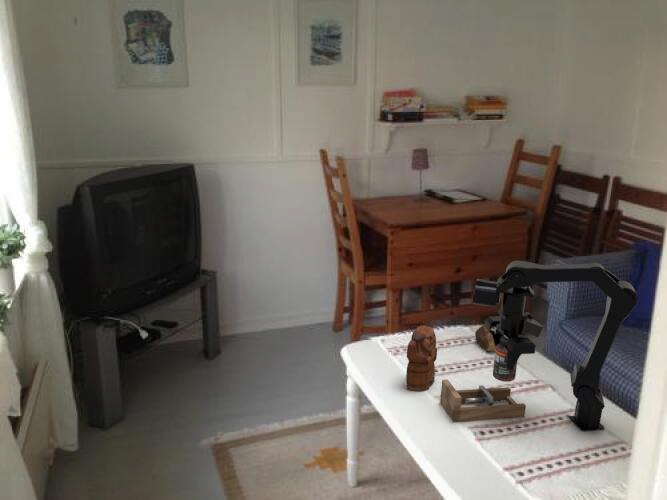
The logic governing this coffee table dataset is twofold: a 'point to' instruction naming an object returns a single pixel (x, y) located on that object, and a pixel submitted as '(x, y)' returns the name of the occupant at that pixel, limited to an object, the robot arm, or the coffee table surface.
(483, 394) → the pusher
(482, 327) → the decorative rock
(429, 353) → the wooden figurine
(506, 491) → the coffee table surface
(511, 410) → the wooden tray
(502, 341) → the supplement bottle
